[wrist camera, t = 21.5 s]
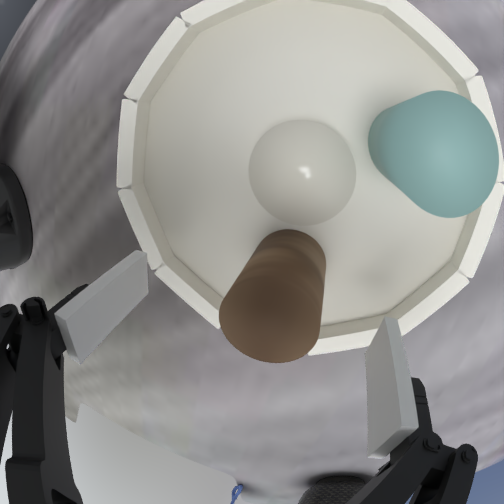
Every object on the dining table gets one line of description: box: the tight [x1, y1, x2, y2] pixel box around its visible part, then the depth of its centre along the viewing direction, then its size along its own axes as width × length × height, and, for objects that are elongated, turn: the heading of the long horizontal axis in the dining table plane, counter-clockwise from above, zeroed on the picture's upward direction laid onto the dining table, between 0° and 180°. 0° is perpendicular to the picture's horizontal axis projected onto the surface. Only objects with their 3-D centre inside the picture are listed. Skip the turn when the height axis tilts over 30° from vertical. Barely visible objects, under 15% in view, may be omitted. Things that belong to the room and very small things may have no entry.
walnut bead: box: [219, 229, 326, 363], centre depth 17 cm, size 5×5×7 cm
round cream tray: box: [117, 0, 504, 356], centre depth 16 cm, size 26×26×3 cm
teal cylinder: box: [368, 90, 499, 218], centre depth 11 cm, size 5×5×7 cm
